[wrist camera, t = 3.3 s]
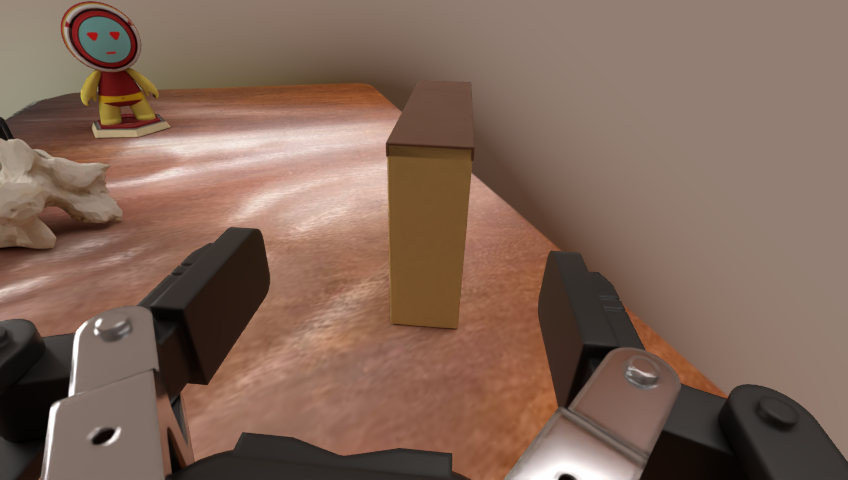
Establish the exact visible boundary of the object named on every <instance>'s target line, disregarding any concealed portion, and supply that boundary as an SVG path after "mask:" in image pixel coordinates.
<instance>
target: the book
mask: <svg viewBox="0 0 848 480" xmlns="http://www.w3.org/2000/svg"><path fill="white" fill-rule="evenodd" d="M474 148H475V147H474V129H473V110H472V91H471V82H449V81H427V80H419V81H418V84H417V85H416V87H415V89H414V91H413V93H412V95H411V97H410V98H409V100H408V102H407V104H406V106H405V108H404V110H403V112H402V114H401V116H400V117H399V119H398V121H397V123H396V125H395V127H394V129H393V131H392V133H391V134H390V136H389V138H388V140H387V142H386V156H387V164H388V216H389V267H390V319H391V324H402V325H415V326H428V327H441V328H454V329H457V328H458V319H459V308H460V296H461V285H462V273H463V262H464V250H465V239H466V227H467V216H468V204H469V193H470V181H471V170H472V161H473V159H474Z"/></svg>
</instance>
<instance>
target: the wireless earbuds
mask: <svg viewBox="0 0 848 480" xmlns="http://www.w3.org/2000/svg"><path fill="white" fill-rule="evenodd" d="M2 127H3V129H4V131H5V133H6V135H7V137H8V139H9V140H10V139H14V138H13V136H12V134H11V132H10V130H9V128H8V126H7V124H6V123H5V120H4V119H3V118H2V117H0V138H1V139H3V140H5V141H8V139H7V137H6V135H5V133H4V131H3V129H2Z"/></svg>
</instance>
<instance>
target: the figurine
mask: <svg viewBox="0 0 848 480" xmlns="http://www.w3.org/2000/svg"><path fill="white" fill-rule="evenodd" d="M61 34H62V38H63V41H64V43H65V45H66V47H67V48H68V49H69V51H70V52H71V53H72V54H73V55H74V57H76V58H77V59H78V60H79V61H80V62H82V63H83V64H85V65H86V66H88V67H90V68H93V69H95V71H93V72H92V73H91V74H90V75H89V77H88V78H87V79H86V81H85V83H84V85H83V87H82V90H81V100H82V102H83V103H84V104H85V105H86V106H89V102H88V101H89V100H90V99H91V98H93V101H96V100H97V98H96V92H97V87H98V90H99V91H98V93H99V111H100V119H101V120H97V122H93V125H92V130H93V133H94V135H95V137H96V138H111V137H140V136H143V135H147V134H150V133H153V132H157V131H160V130H163V129H167V128H170V126H169V124H168V123H167V122H166V121H165V120H164V119H163V118H162V117H161V116H160V115H159V114H155V113H154V112H153V110H152V109H151V107H150V105H149V103H148V101H147V99H146V98H145V96H144V95H143V93H142V91H141V90H140V88H139V87H138V85H137V84H136V82H137V83H138V84H139V85H140V87H141V88H142V89H143V91H144V92H145V94H146V95H147V96H149V92H150V93H152V94H153V96H154V97H155V98H156V99H158V96H159V95H158V91H157V89H156V87H155V86H154V85H153V84H152V83H151V82H150V81H149V80H148V79H146V78H145V77H144V76H143V75H141V74H140V73H138V72H137V71H135V70H133V69H131V68H129V67H131V66H132V65H133V64H134V63H135V62H136V61H137V59H138V57H139V55H140V52H141V40H140V36H139V33H138V31H137V29H136V27H135V26H134V24H133V23H132V22H131V21H130V19H129V18H128V17H126V15H124V14H123V13H122V12H120V11H119V10H117V9H116V8H113V7H112V6H110V5H107V4H104V3H100V2H93V1H89V2H82V3H78V4H75V5H74V6H72V7H71V8H69V9H68V10H67V11H66V13H65V14H64V16H63V18H62V21H61ZM133 79H134V80H135V81H136V82H135V81H134V80H133ZM128 105H129V106H130V108H131V109H132V111H133V113H134V114H122V115H121V111H120V106H128Z"/></svg>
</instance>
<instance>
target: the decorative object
mask: <svg viewBox="0 0 848 480" xmlns="http://www.w3.org/2000/svg"><path fill="white" fill-rule="evenodd" d="M109 167H110V165H108V164H104V165H103V164H102V163H90V164H87V163H83V164H79V163H76V162H73V161H69V160H67V159H65V158H58V157H52V156H50V155H49V154H48V153H47V152H45V151H43V150H37V149H34V150H32V149H31V148H30V147H29V146H28V145H27V144H26V143H25V142H24V141H22V140H20V139H15V140H14V139H10V140H8V141H5V140H3V139H1V138H0V248H2V247H11V246H22V247H28V248H40V249H47V248H52V247H54V246H55V245H54V243H55V242H56V237H55V235H54V234H53V232H52V231H51V230H50V229H49V228H48V227H47V226H46V225H45V224H44V223H43V222H42V221H41V220H40V218H39V217H38V216H39V215H40V214H41V212H42V210H43V209H44V208H46V207H48V206H57V207H59V208H61V209H63V210H65V211H66V212H67V213H68V214H69V215H70V216H71V217H72V218H74V219H75V220H77V221H82V222H92V223H106V222H107V221H114V222H116V223H117V222H119V221H122V220H123V219H122V214H123V211H122V210H121V209H120V208H119V207H118V206H117V202H116V200H114V199H113V198H111V197H110V196H109V195H108V192H109V191H108V189H107V187H106V186H105V185H106V182H105V172H106V170H107V169H108V168H109Z"/></svg>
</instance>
